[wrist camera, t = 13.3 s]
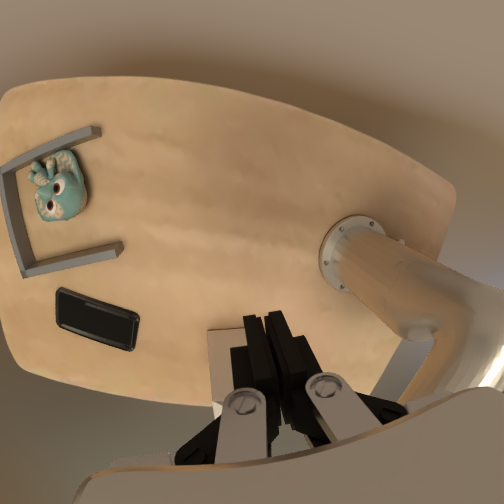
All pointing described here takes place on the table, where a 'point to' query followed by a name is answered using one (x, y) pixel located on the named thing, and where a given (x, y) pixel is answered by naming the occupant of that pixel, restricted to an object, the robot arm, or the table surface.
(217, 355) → the milk carton
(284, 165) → the table surface
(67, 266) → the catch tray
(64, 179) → the stuffed animal
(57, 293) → the phone
